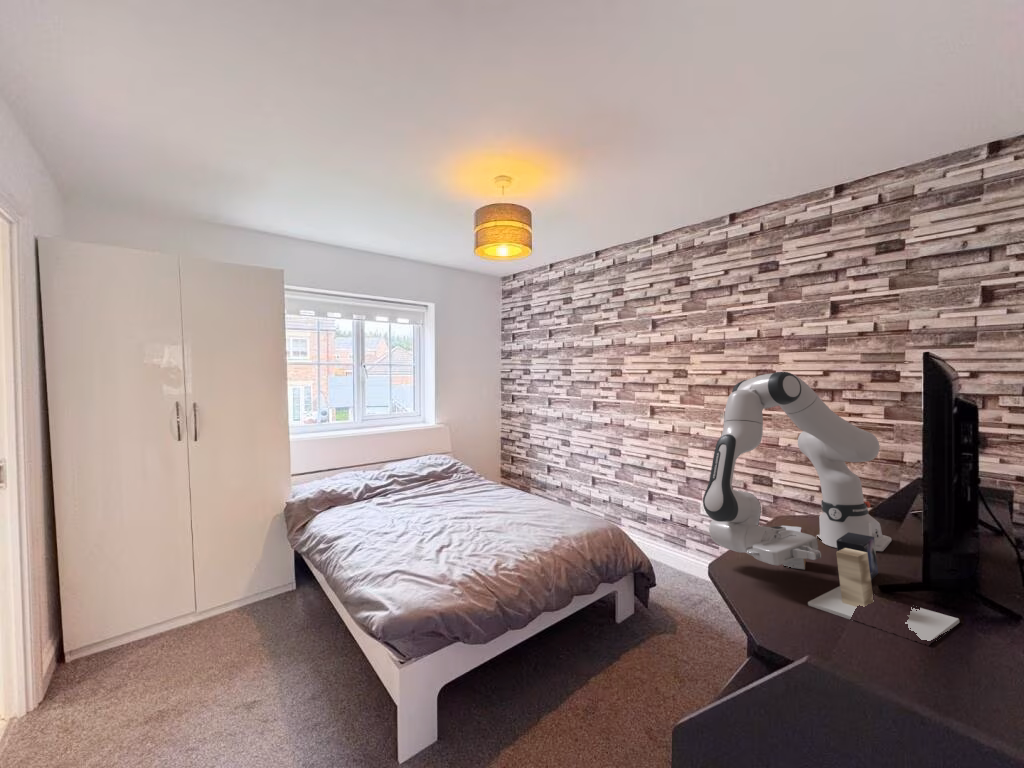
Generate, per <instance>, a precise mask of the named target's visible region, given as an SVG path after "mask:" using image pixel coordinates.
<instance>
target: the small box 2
mask: <svg viewBox="0 0 1024 768" xmlns="http://www.w3.org/2000/svg"><path fill="white" fill-rule="evenodd" d="M836 542H837V548H836V550H837V551H839V550H841V549H844V548H849V549H853V550H858V551H863V552H867V553H868V561H869V569H870V576H871V581H872V580H873V579H874V578H876V576H877V575H878V574H879V569H878V568H879V567H878V561H877V553H876V552H877V551H876V550H875V541H874V537H872V536H866V535H861V534H855V533H850V532H848V533H847V534H845V535H844V536H842V537H841V538H839V539H838V540H836ZM837 551H836V552H837Z"/></svg>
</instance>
